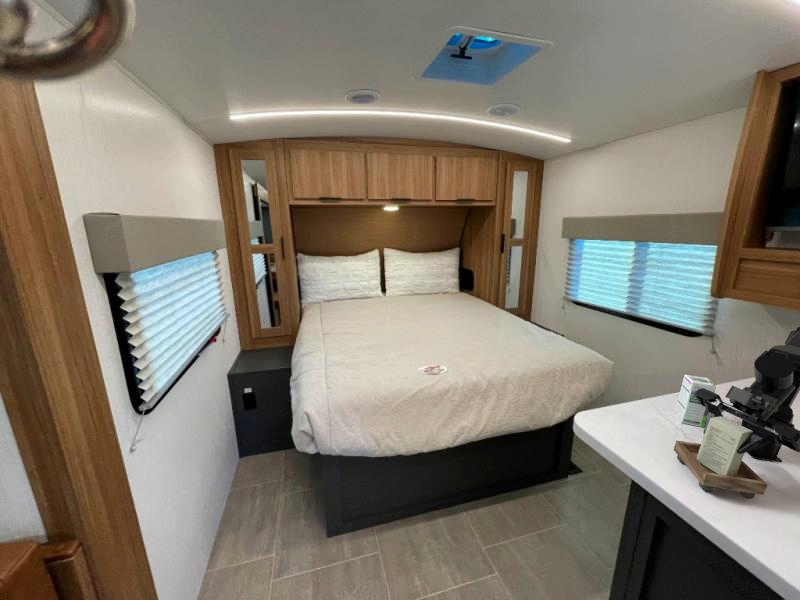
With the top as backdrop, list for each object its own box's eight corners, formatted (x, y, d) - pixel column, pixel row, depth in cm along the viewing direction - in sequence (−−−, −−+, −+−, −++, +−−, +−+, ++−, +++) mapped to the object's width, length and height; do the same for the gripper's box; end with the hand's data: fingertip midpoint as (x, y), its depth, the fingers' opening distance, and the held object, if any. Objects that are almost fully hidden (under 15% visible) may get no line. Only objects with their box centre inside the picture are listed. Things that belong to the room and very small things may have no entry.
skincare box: (736, 475, 76) (756, 432, 72) (725, 479, 74) (744, 434, 71) (704, 456, 81) (721, 415, 78) (693, 459, 80) (710, 417, 77)
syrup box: (680, 423, 100) (693, 382, 96) (673, 412, 105) (684, 373, 101) (704, 428, 98) (717, 386, 94) (695, 417, 103) (707, 376, 99)
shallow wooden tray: (722, 465, 83) (728, 448, 81) (759, 503, 72) (767, 484, 71) (671, 457, 85) (676, 440, 84) (699, 493, 74) (706, 474, 73)
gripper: (708, 359, 81) (667, 404, 81) (818, 399, 64) (766, 456, 64) (720, 382, 85) (681, 424, 85) (826, 425, 68) (777, 479, 68)
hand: (720, 443), depth 75 cm, fingers open, 6 cm apart
